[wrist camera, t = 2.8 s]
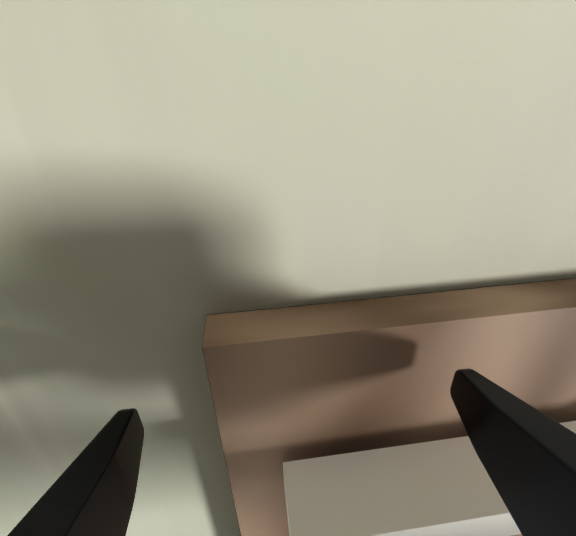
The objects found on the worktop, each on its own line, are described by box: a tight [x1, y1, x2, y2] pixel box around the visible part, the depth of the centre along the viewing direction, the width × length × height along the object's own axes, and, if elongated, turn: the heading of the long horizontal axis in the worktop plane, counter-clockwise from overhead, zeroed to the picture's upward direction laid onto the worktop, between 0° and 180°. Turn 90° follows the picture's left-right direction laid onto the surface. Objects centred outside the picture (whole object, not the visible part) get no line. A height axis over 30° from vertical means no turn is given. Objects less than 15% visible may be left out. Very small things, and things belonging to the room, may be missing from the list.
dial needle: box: [283, 421, 576, 536], centre depth 12 cm, size 16×3×3 cm, turn 92°
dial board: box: [202, 278, 576, 536], centre depth 16 cm, size 22×20×2 cm
